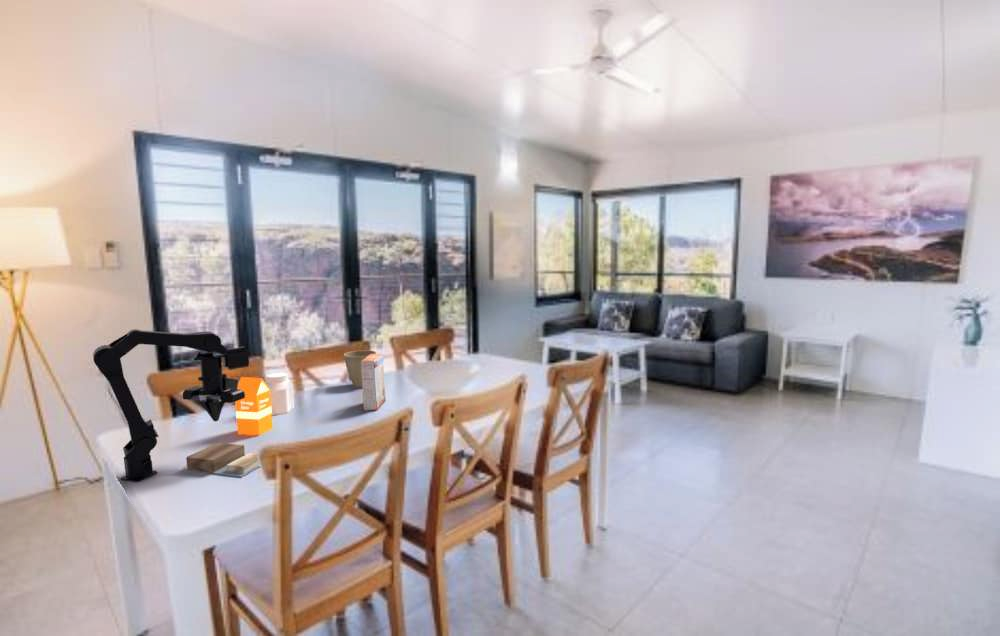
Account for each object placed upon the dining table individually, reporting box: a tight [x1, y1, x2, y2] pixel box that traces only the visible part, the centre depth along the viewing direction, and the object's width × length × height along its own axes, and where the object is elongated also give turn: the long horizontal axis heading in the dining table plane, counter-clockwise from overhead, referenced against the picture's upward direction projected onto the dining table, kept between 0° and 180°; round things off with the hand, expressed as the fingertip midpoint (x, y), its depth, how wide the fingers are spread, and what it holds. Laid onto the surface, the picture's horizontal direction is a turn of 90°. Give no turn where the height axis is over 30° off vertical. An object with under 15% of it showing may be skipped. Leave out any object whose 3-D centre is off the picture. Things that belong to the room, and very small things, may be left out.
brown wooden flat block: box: [185, 442, 246, 474], centre depth 157 cm, size 10×12×4 cm
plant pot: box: [343, 349, 377, 389], centre depth 246 cm, size 15×15×16 cm
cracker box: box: [361, 353, 386, 411], centre depth 213 cm, size 14×6×21 cm, turn 178°
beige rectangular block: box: [227, 452, 259, 473], centre depth 154 cm, size 6×9×2 cm, turn 165°
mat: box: [212, 465, 261, 478], centre depth 155 cm, size 10×13×1 cm
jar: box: [265, 372, 295, 416], centre depth 209 cm, size 12×10×15 cm
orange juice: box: [234, 376, 273, 436], centre depth 184 cm, size 8×9×20 cm
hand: (216, 421), depth 160 cm, fingers closed
